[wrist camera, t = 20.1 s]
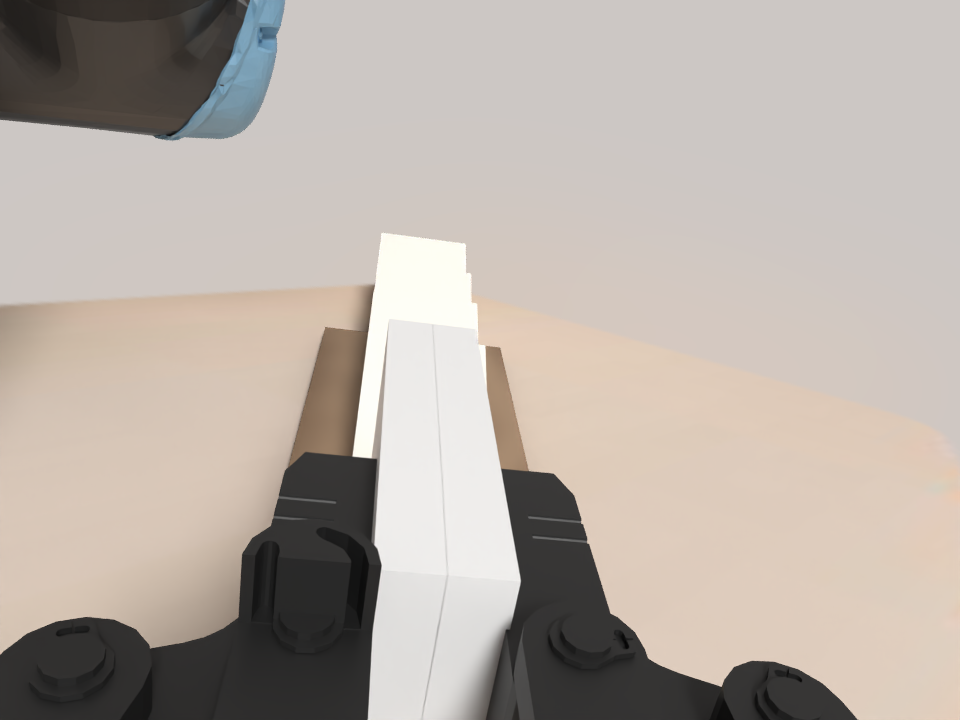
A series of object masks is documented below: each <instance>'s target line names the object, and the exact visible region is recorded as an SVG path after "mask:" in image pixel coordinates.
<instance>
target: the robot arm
mask: <svg viewBox="0 0 960 720" xmlns="http://www.w3.org/2000/svg"><path fill="white" fill-rule="evenodd" d="M284 5H285V0H0V120H9V121H20V122H30V123H40V124H50V125H60V126H70V127H81V128H90V129H99V130H108V131H116V132H125V133H126V132H127V133H135V134H144V135H152V136H154V137H155V138H158V139H164V140H179V139H181V138H183V137H192V138H213V139H214V138H215V139H224V138H228V137H232V136H234V135H237V134H239V133H241V132H242V131H243V130H245V129H246V128H247V127H248V126H249V125H250V124H251V123H252V121H253V120H254V118H255V117H256V115H257V113H258V112H259V109H260V107H261V105H262V103H263V100H264V97H265V95H266V92H267V89H268V86H269V82H270V79H271V75H272V72H273V67H274V63H275V58H276V53H277V38H276V34H277V33H278V31H279V28H280V26H281V21H282V16H283V12H284ZM0 720H857V718H856V717H855V716H854V715H853V714H852V713H851V711H850V710H849V709H848V708H847V707H846V706H845V704H844V703H843V702H842V701H841V700H840V699H839V698H838V697H837V696H835V695H834V694H833V693H832V692H831V691H830V690H829V689H828V688H827V687H826V686H825V685H823V684H822V683H821V682H819V681H817V680H816V679H814V678H812V677H810V676H809V675H807V674H805V673H803V672H802V671H800V670H798V669H795V668H792V667H789V666H785V665H782V664H779V663H776V662H766V661H750V662H747V663H744V664H741V665H739V666H736V667H734V668H733V669H732V671H731V672H730V673H729V675H728V676H727V677H726V678H725V680H724V682H723V685H722V687H720V686H717V685H714V684H711V683H708V682H704V681H701V680H698V679H695V678H692V677H689V676H686V675H683V674H680V673H677V672H674V671H672V670H669V669H667V668H665V667H662V666H660V665H658V664H656V663H654V662H653V661H651V660H649V659H648V657H647V654H646V651H645V649H644V647H643V646H642V644H641V642H640V640H639V639H638V637H637V635H636V634H635V632H634V631H633V630H632V629H630V628H629V627H628V626H627V625H626V624H625V623H624V622H622V621H621V620H620V619H619V618H618V617H616V616H614V615H612V614H610V611H609V607H608V604H607V601H606V598H605V594H604V591H603V588H602V585H601V581H600V578H599V575H598V572H597V568H596V565H595V562H594V559H593V555H592V552H591V549H590V546H589V544H587V536H586V533H585V529H584V526H583V524H581V516H580V513H579V510H578V507H577V503H576V500H575V497H574V495H573V494H572V493H571V492H570V491H569V490H568V489H567V487H566V486H565V485H564V484H563V483H562V482H561V481H560V480H559V479H558V478H557V477H556V476H555V475H554V474H551V473H541V472H531V471H521V470H511V469H501V467H500V461H499V456H498V450H497V444H496V439H495V433H494V428H493V422H492V416H491V411H490V405H489V399H488V394H487V388H486V383H485V377H484V371H483V366H482V360H481V355H480V349H479V343H478V338H477V332H476V329H471V328H462V327H454V326H446V325H437V324H429V323H421V322H413V321H404V320H396V319H389V323H388V331H387V338H386V346H385V354H384V362H383V370H382V378H381V386H380V394H379V402H378V410H377V418H376V426H375V434H374V442H373V450H372V458H363V457H353V456H342V455H332V454H322V453H312V452H305V453H304V454H302V455H301V456H300V457H299V458H298V459H297V460H296V461H295V462H294V463H293V464H292V465H291V466H290V467H288V468H287V469H286V470H285V473H284V477H283V481H282V485H281V489H280V493H279V499H278V501H277V504H276V508H275V512H274V519H273V520H272V524H271V526H270V527H269V528H267V529H266V530H264V531H263V532H261V533H260V534H258V535H256V536H255V537H253V538H252V539H251V541H250V543H249V544H248V546H247V547H246V549H245V551H244V552H243V554H242V567H241V585H240V603H239V618H237V619H236V620H235V621H233V622H232V623H230V624H229V625H228V626H226V627H225V628H224V629H222V630H219V631H217V632H215V633H213V634H211V635H208V636H206V637H204V638H200V639H196V640H192V641H188V642H185V643H179V644H174V645H168V646H162V647H156V648H151V649H150V646H149V644H148V643H147V642H146V641H145V640H144V638H143V637H142V636H141V635H140V634H139V633H138V631H137V630H136V629H134V628H131V627H129V626H127V625H125V624H122V623H120V622H118V621H116V620H111V619H101V618H91V617H83V618H77V619H70V620H64V621H58V622H54V623H52V624H49V625H47V626H45V627H42V628H40V629H37V630H35V631H32V632H30V633H28V634H26V635H25V636H23V637H22V638H21V639H20V640H18V641H17V642H16V643H14V644H13V645H12V646H10V647H9V648H8V649H6V650H5V651H4V652H3V653H2V654H1V655H0Z"/></svg>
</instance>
